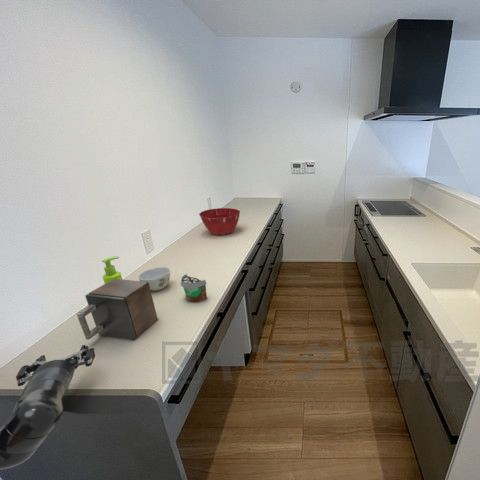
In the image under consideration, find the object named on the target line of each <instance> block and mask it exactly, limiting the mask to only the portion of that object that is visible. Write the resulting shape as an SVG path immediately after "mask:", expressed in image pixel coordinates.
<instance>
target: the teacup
mask: <svg viewBox="0 0 480 480" xmlns="http://www.w3.org/2000/svg"><path fill="white" fill-rule="evenodd" d="M137 278H138V281H143V282H149V286H150V290H151V292H155V291H156V292H157V291H161V290H163V289H165V288H166V286H167V285H168V283H169V282H170V279H171V270H170V267H169V268H168V267H166V266H163V267H162V266H161V267H154V268H150V269H147V270H144V271H142V272H141V273H140V274H139V275H138V277H137Z"/></svg>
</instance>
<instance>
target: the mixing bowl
mask: <svg viewBox="0 0 480 480" xmlns="http://www.w3.org/2000/svg"><path fill="white" fill-rule="evenodd" d="M240 214H241V211H240V210H239V209H237V208H230V207H220V208H219V207H217V208H210V209H206V210H205V209H204V210H203V211H201V212H199V217H200V219H201V221H202V223H203V225H204V227H205V228H206V229H207V231H208V232H209V233H210V234H213V235H216V236H224V235H230V234H231V233H232V232H234V231H235V229H236V228H237V225H238V223H239V219H240Z"/></svg>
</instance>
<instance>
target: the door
mask: <svg viewBox="0 0 480 480" xmlns="http://www.w3.org/2000/svg"><path fill="white" fill-rule="evenodd" d="M84 296H85V297H84V298H85V299H86V302H87V305H88V306H86V307H84V308H83V309H81V310H80V311H78V312H76V317H77V320H78V322H79V325H80V327H81V330H82V332H83V335H84V338H85V340H90V339H92V338H93V337H95V336H96V335H98V336H99V337H100V336H101V337H107V338H115V339H123V340H130V341H135V340H136V339H137V338H136V334H135V331H134V328H133V324H132V321H131V317H130V314H129V311H128V307H127V304H126V301H125V298H120V297H111V296H102V295H93V294H89V293H87V294H85V295H84ZM89 314H91V316H92V319H93V322H94V325H95V327H93V328H92V329H90V327H89V324H88V321H87V319H86V316H88V315H89Z"/></svg>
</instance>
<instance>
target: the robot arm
mask: <svg viewBox="0 0 480 480" xmlns="http://www.w3.org/2000/svg"><path fill="white" fill-rule="evenodd" d="M95 352H96V351H95V348H94V347H90V348H89V346H88V345H86V344H82V345H81V346H80V348H79V351H78V352H73V353H71V354H69V355H68V356H66V357H62V358H61V359H52V360H49V361H47V359H46V355H45V354H43V355H40V356H39V357H38V358H36V359H35V361H33V362H32V363H31V364H30V365H29V364H25V365H23V366H21V367H20V369H19V370H18V372H17V375H16V376H15V379H16V384H17V387H22V386H23V385H25V384H26V385H25V386H24V388H23V390H22V393H21V395H20V396H19V398H18V400H17V402H16V404H15V405H14V408H13V413H12V414H11V416H10V417H9V418H8V419H7V421H5V423H4V424H3V425H2V426H1V428H0V470H7V469H11V468H13V467H16V466H19V465H21V464H22V463H25V462H26V461H28V460H29V459H30V458H31V457H32V456H33V455H34V454H35V453H36V452H37V450H38V449H39V447H40V446H41V445H42V443H44V441H45V440H46V438H47V437H48V436H49V435H50V434H51V432H52V431H53V429H54V428H55V427H56V426H57V424H58V422H59V421H60V419H61V417H62V415H63V413H64V404H63V399H64V398H65V395H66V393H67V392H68V390H69V387H70V385H71V382H72V379H73V377H74V374H75V371H76V370H77V369H78V368H79V367H80V366H85V367H90V366H92V365H93V363H94V361H95V357H96V353H95Z"/></svg>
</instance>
